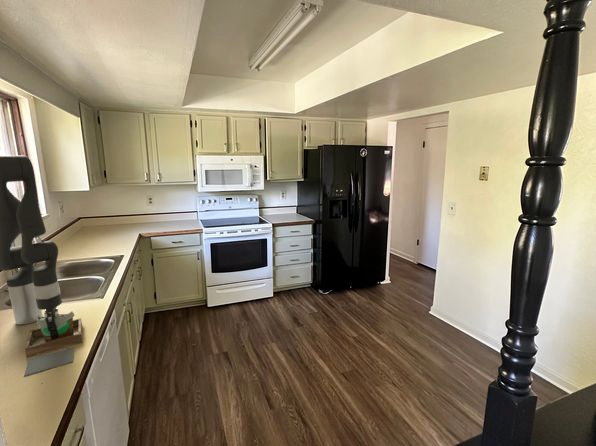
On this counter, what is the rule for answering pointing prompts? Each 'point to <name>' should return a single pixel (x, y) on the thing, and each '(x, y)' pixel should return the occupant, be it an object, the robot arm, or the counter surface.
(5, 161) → the robot arm
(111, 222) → the counter surface
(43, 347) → the frame
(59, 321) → the food container
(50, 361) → the rubber mat
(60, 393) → the counter surface
